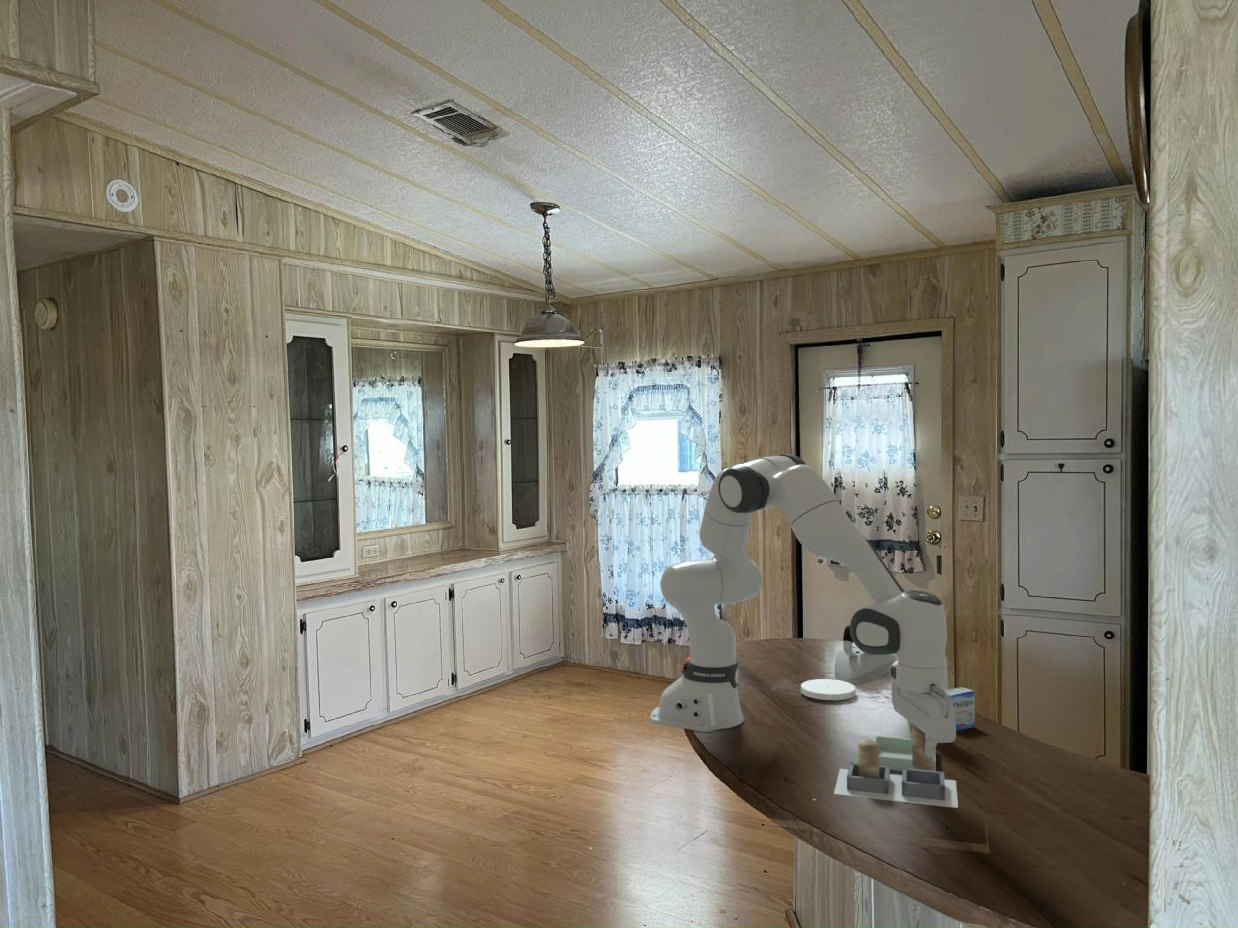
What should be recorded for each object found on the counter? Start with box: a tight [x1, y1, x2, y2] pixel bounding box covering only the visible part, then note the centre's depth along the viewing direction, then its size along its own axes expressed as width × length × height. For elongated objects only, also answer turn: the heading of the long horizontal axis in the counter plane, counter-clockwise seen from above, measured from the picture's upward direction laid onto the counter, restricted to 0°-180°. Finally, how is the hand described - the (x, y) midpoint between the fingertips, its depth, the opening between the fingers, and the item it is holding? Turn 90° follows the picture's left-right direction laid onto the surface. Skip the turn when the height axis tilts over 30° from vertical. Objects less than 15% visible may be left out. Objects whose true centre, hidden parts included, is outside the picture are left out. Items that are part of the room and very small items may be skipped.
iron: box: [834, 624, 898, 685], centre depth 252 cm, size 11×24×15 cm, turn 137°
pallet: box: [833, 761, 959, 809], centre depth 171 cm, size 22×13×4 cm, turn 71°
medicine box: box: [945, 686, 976, 733], centre depth 207 cm, size 8×4×9 cm, turn 117°
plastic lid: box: [800, 678, 857, 701], centre depth 234 cm, size 14×14×2 cm
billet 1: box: [857, 739, 879, 778], centre depth 172 cm, size 4×4×8 cm
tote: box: [872, 734, 937, 772], centre depth 185 cm, size 13×13×4 cm
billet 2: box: [912, 724, 936, 770], centre depth 169 cm, size 4×4×8 cm
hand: (923, 749), depth 169 cm, fingers closed on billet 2, 4 cm apart
